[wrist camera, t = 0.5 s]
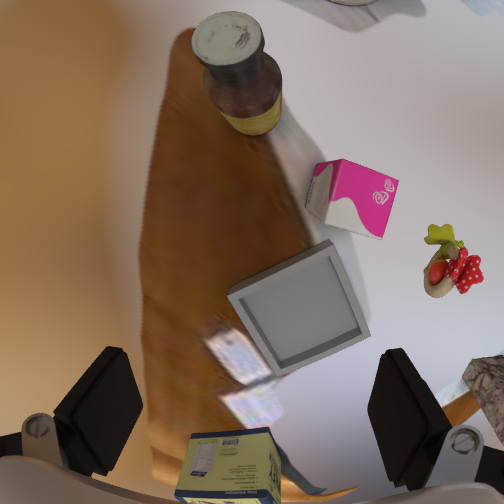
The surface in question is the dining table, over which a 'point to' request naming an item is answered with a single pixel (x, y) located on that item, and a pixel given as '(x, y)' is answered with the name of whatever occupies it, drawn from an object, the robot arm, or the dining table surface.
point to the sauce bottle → (239, 71)
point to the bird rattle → (449, 264)
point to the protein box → (231, 468)
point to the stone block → (488, 389)
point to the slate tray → (301, 309)
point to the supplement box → (351, 197)
